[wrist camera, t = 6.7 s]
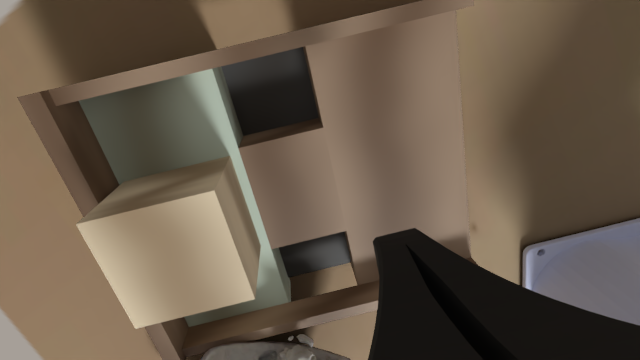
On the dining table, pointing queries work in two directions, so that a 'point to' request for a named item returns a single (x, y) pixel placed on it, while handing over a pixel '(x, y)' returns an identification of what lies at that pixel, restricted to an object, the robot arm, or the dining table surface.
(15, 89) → the dining table surface
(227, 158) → the maple block
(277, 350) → the flask
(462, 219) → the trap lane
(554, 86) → the dining table surface
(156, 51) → the dining table surface
